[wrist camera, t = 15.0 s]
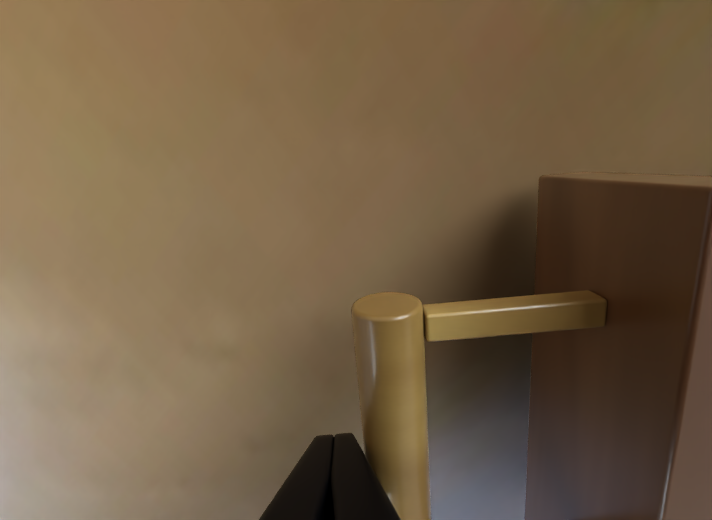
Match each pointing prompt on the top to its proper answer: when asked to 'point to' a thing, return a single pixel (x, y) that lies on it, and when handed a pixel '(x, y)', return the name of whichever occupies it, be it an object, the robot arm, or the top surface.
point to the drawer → (574, 356)
